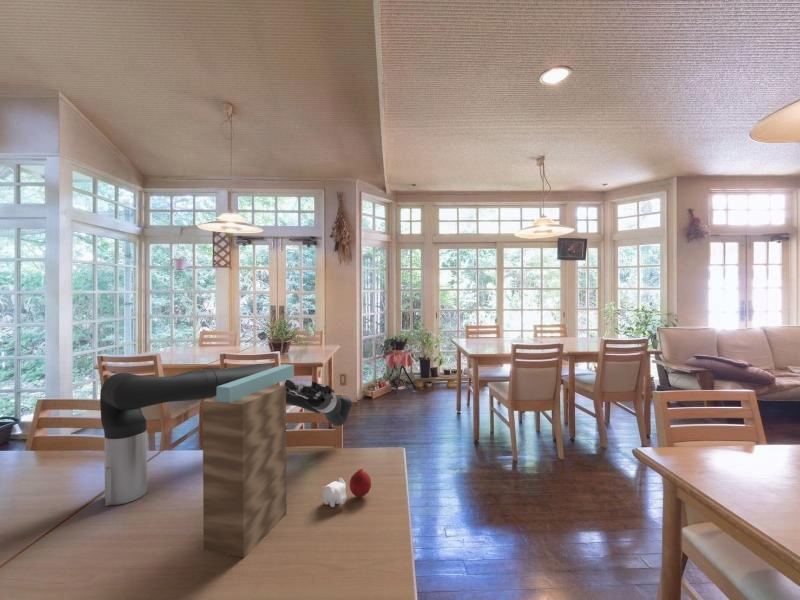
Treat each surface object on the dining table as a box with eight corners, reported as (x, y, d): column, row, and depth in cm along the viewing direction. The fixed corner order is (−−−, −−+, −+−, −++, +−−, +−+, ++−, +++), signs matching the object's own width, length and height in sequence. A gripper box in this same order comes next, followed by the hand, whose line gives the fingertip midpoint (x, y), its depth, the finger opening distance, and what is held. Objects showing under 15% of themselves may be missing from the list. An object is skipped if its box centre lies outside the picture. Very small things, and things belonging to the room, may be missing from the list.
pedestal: (243, 558, 76) (242, 404, 75) (203, 549, 78) (202, 400, 78) (286, 513, 91) (285, 386, 91) (251, 507, 94) (251, 383, 93)
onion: (367, 504, 95) (367, 474, 95) (346, 502, 96) (346, 472, 96) (373, 493, 101) (373, 464, 101) (353, 490, 102) (353, 462, 102)
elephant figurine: (336, 515, 91) (336, 491, 90) (313, 505, 95) (313, 482, 95) (353, 502, 96) (353, 480, 96) (331, 493, 101) (331, 472, 100)
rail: (229, 402, 77) (229, 387, 77) (216, 401, 77) (216, 386, 77) (293, 376, 102) (293, 364, 102) (283, 375, 103) (283, 364, 103)
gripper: (305, 386, 124) (281, 370, 110) (344, 388, 120) (324, 372, 107) (299, 408, 120) (274, 394, 107) (339, 412, 117) (318, 398, 103)
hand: (299, 383), depth 107 cm, fingers open, 8 cm apart
